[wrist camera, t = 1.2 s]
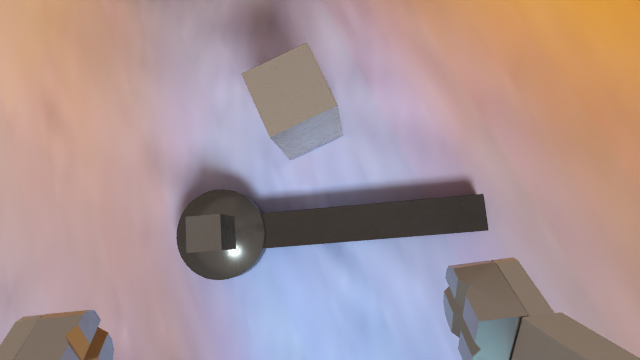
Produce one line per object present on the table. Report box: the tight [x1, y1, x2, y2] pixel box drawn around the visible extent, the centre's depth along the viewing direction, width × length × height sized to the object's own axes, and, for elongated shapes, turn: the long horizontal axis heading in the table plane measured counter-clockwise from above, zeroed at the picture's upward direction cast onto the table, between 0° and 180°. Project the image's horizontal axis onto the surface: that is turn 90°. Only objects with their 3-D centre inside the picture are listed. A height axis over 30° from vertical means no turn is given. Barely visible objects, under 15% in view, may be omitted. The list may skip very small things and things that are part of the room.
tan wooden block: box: [242, 43, 343, 160], centre depth 32 cm, size 5×5×8 cm
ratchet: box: [177, 190, 488, 280], centre depth 32 cm, size 25×7×5 cm, turn 95°
